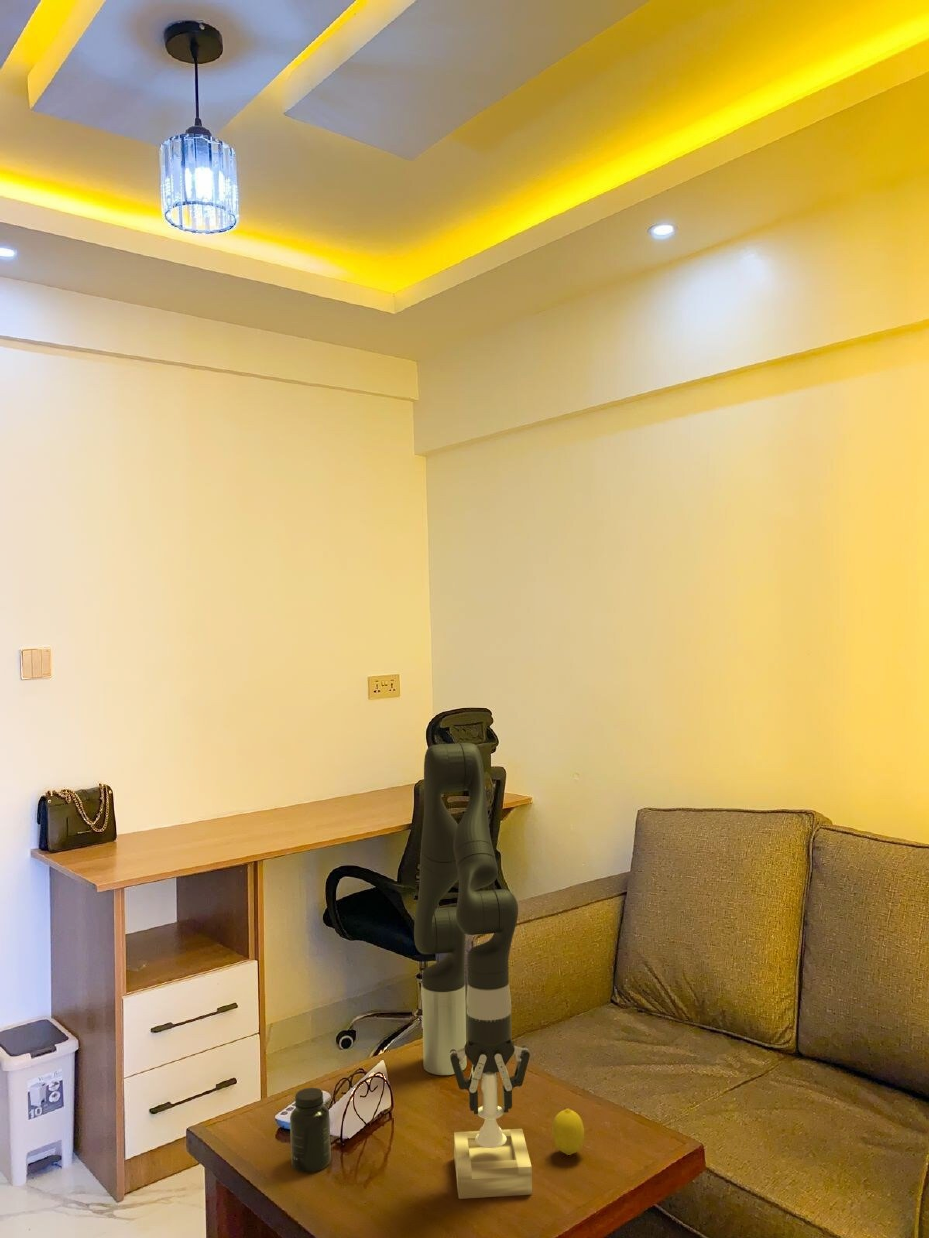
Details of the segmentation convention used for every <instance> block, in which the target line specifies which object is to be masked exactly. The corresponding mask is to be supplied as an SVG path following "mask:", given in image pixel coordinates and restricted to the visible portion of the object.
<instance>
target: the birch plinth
mask: <svg viewBox="0 0 929 1238" xmlns="http://www.w3.org/2000/svg"><path fill="white" fill-rule="evenodd" d="M501 1130H502V1133H503V1134H504V1135H505V1136H506V1138H507V1140H506V1142H505V1144H503V1145H502V1146H500V1147H496V1148H485V1147H482V1146H480V1145H478V1144H477V1143H476V1141H475V1137H476V1136H477V1135H478V1134H479V1130H475V1131H473V1130H472V1131H471V1130H469V1131H457V1132H456V1131H454V1132H453V1149H454V1151H453V1153H454V1166H455V1167H454V1168H455V1178H456V1187H457V1194H458V1195H457V1196H458V1200H459V1199H461V1200H463V1199H477V1198H478V1199H479V1198H493V1197H494V1198H496V1197H497V1198H498V1197H511V1196H512V1197H514V1196H528V1195H529V1196H530V1195H533V1183H532V1182H533V1180H532V1179H533V1173H532V1172H533V1171H532V1170H533V1169H532V1167H533V1166H532V1164H531V1163H532V1162H531V1158H530V1155H529V1150H528V1147H527V1142H526V1139H525V1135H524V1132H523V1131H524V1130H523V1128H513V1129H512V1128H510V1129H509V1128H508V1129H501Z"/></svg>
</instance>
